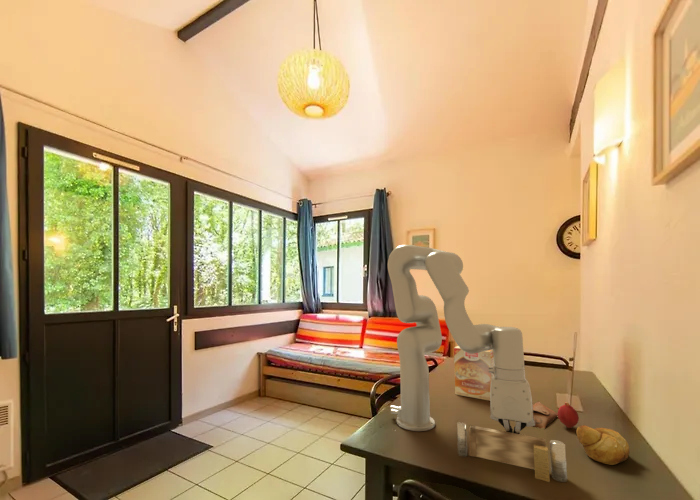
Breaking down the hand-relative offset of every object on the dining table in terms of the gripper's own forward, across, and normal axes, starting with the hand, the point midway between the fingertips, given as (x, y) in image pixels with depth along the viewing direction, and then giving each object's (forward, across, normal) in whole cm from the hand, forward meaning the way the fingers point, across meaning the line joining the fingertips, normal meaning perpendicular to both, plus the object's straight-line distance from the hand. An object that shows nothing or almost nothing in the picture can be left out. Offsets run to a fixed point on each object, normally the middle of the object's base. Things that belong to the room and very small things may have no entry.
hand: (513, 445), depth 88 cm
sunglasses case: (+4, +6, +36) cm, 37 cm away
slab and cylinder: (+4, +8, -4) cm, 10 cm away
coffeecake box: (+4, -18, +50) cm, 53 cm away
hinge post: (+4, -13, -3) cm, 13 cm away
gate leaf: (+3, -2, -3) cm, 4 cm away
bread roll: (+4, +22, +15) cm, 27 cm away
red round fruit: (+4, +14, +32) cm, 35 cm away
